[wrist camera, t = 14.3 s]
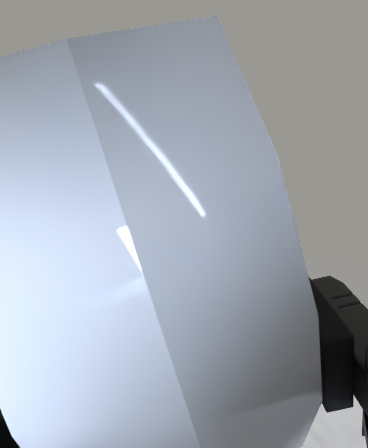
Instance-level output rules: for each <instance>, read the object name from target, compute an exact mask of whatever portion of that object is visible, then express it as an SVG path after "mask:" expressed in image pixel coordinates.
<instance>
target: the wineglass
mask: <svg viewBox="0 0 368 448" xmlns="http://www.w3.org/2000/svg"><path fill="white" fill-rule="evenodd" d="M321 403H322V382H321V361H320V340H319V319H318V312H317V309H316V305H315V301H314V297H313V293H312V289H311V285H310V281H309V277H308V273H307V269H306V265H305V261H304V257H303V254H302V249H301V245H300V241H299V237H298V234H297V230H296V226H295V222H294V218H293V214H292V210H291V206H290V202H289V198H288V194H287V190H286V186H285V182H284V178H283V174H282V170H281V166H280V162H279V158H278V156H277V154H276V152H275V149H274V147H273V145H272V142H271V140H270V138H269V135H268V133H267V131H266V128H265V126H264V124H263V121H262V119H261V117H260V115H259V112H258V110H257V107H256V105H255V103H254V101H253V98H252V96H251V93H250V91H249V89H248V87H247V84H246V82H245V80H244V77H243V75H242V73H241V70H240V68H239V66H238V64H237V61H236V59H235V56H234V54H233V52H232V50H231V47H230V45H229V43H228V41H227V38H226V36H225V33H224V31H223V29H222V26H221V24H220V22H219V19H218V17H217V16H212V17H205V18H198V19H192V20H185V21H179V22H173V23H166V24H160V25H153V26H146V27H140V28H133V29H127V30H121V31H113V32H107V33H100V34H94V35H87V36H81V37H75V38H68V39H64V40H60V41H57V42H53V43H49V44H46V45H42V46H39V47H36V48H32V49H29V50H25V51H21V52H17V53H14V54H10V55H7V56H3V57H0V409H1V412H2V414H3V417H4V419H5V421H6V424H7V426H8V428H9V431H10V433H11V436H12V437H13V439H14V440H15V441H16V442H17V444H18V445H19V446H20V448H301V447H302V445H303V443H304V441H305V439H306V436H307V434H308V432H309V430H310V427H311V425H312V423H313V421H314V418H315V416H316V414H317V412H318V409H319V407H320V405H321Z"/></svg>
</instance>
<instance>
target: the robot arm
mask: <svg viewBox="0 0 368 448" xmlns="http://www.w3.org/2000/svg"><path fill="white" fill-rule="evenodd" d="M308 277H309V276H308ZM309 281H310V285H311V289H312V293H313V297H314V301H315V305H316V309H317V312H318V319H319V340H320V361H321V382H322V404H323V406H324V408H325V410H326V412H332V411H336V410H341V409H345V408H350V407H353V394H354V396H355V397H356V399H357V400H358V402H359V404H360V405H361V407H362V408H363V420H362V436H365V438H366V444H367V448H368V309H367V308H366V307H365V306H364V305H363V304H361V303H360V301H359V300H358V298H357V297H356V296H355V295H353V293H352V292H351V291H350V290H349V289H348V288H347V286H346V285H345V284H344V283H342V282H340V281H339V280H337V279H335V278H333V277H331V276H327V277H322V278H318V279H313V280H311V279H310V278H309ZM0 448H20V446H19V445H18V444H17V442H16V441H15V440H14V439H13V437H12V436H11V433H10V431H9V428H8V426H7V424H6V421H5V419H4V417H3V414H2V412H1V409H0Z"/></svg>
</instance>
